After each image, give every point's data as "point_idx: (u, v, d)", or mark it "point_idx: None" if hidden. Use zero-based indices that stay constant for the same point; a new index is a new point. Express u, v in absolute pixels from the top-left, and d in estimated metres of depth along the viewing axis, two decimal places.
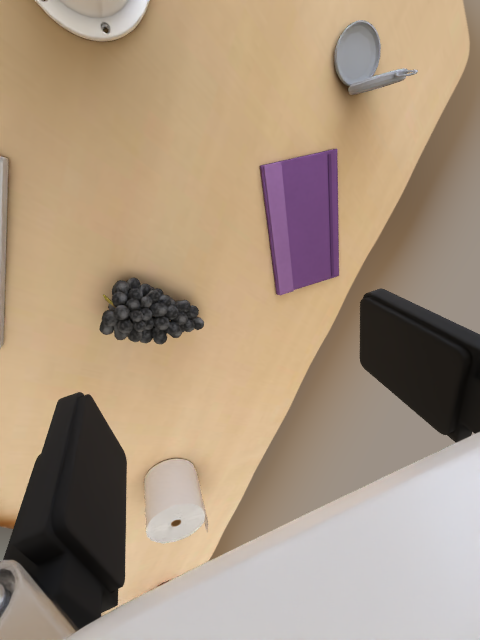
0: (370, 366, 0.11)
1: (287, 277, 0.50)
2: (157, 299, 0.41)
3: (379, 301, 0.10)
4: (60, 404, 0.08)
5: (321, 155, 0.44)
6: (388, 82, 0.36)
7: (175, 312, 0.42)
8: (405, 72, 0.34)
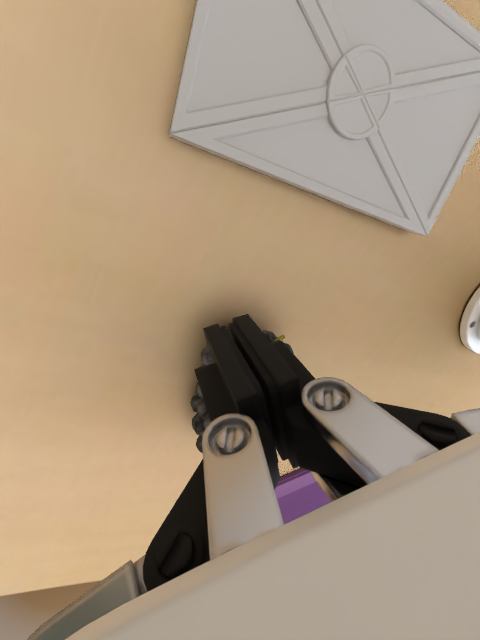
0: None
1: None
2: None
3: (240, 326, 0.10)
4: (208, 330, 0.10)
5: None
6: None
7: None
8: None
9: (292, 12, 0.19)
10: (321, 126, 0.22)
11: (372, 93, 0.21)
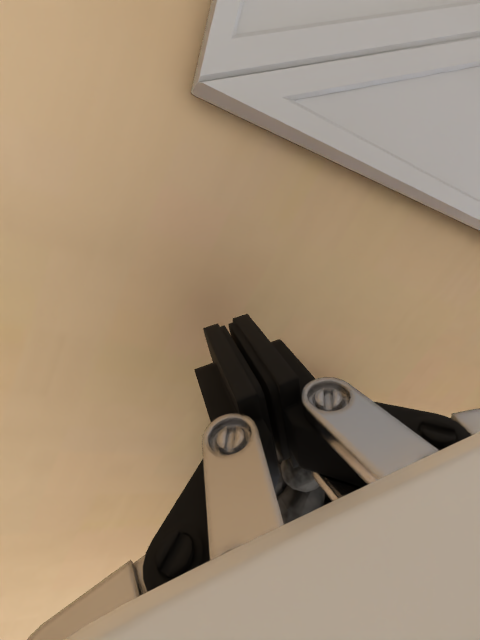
0: None
1: None
2: None
3: (240, 326, 0.10)
4: (208, 330, 0.10)
5: None
6: None
7: None
8: None
9: None
10: (475, 82, 0.12)
11: None
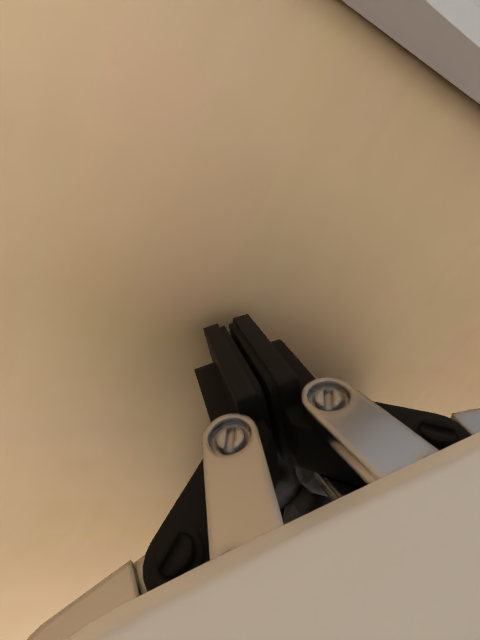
0: None
1: None
2: None
3: (241, 326, 0.10)
4: (208, 330, 0.10)
5: None
6: None
7: None
8: None
9: None
10: None
11: None
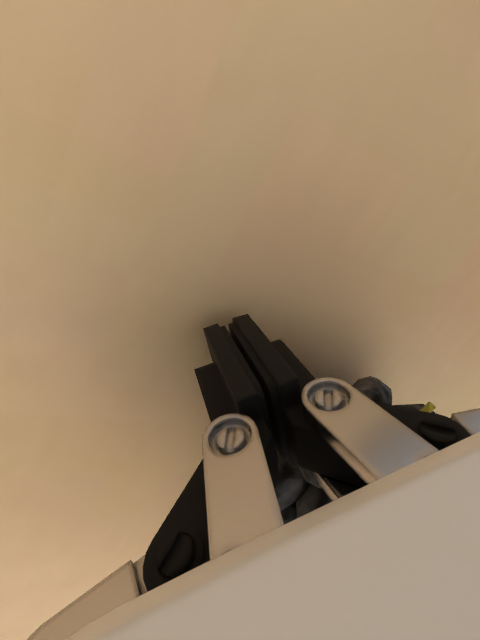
0: None
1: None
2: None
3: (240, 326, 0.10)
4: (208, 330, 0.10)
5: None
6: None
7: None
8: None
9: None
10: None
11: None
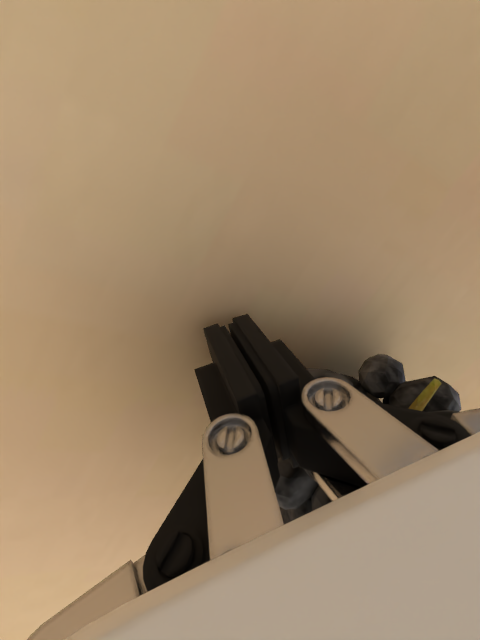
0: None
1: None
2: None
3: (240, 327, 0.10)
4: (208, 330, 0.10)
5: None
6: None
7: None
8: None
9: None
10: None
11: None
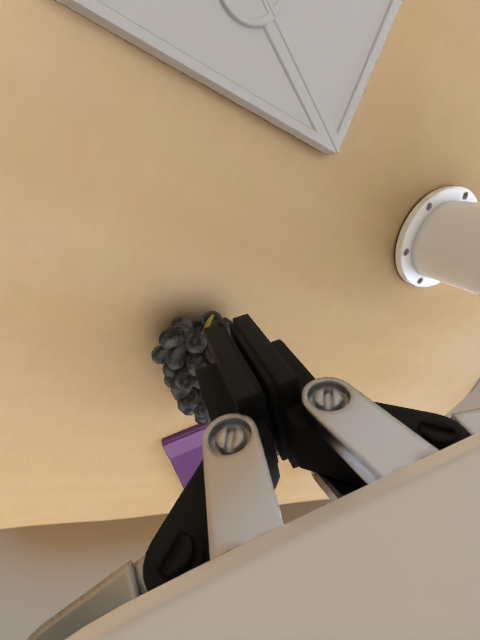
0: None
1: (188, 446, 0.39)
2: None
3: (240, 327, 0.10)
4: (208, 330, 0.10)
5: None
6: None
7: None
8: None
9: None
10: (212, 4, 0.21)
11: None
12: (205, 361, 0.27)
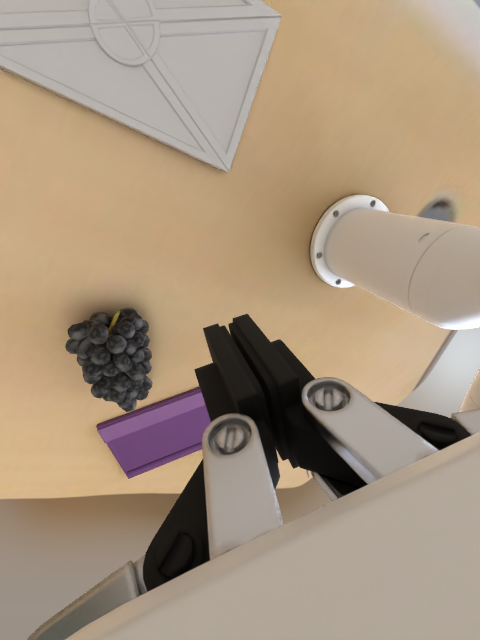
0: None
1: (122, 431, 0.43)
2: (143, 361, 0.35)
3: (241, 327, 0.10)
4: (208, 330, 0.10)
5: None
6: None
7: (139, 385, 0.35)
8: None
9: None
10: (92, 48, 0.25)
11: (135, 23, 0.25)
12: (106, 351, 0.30)
